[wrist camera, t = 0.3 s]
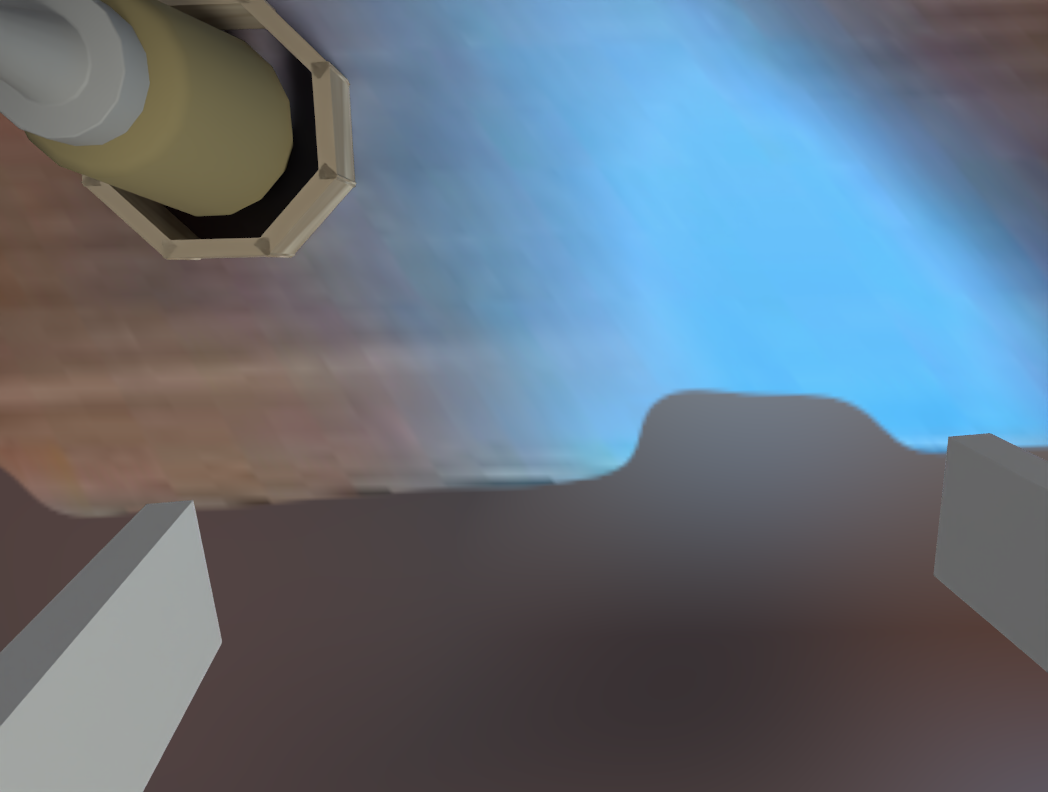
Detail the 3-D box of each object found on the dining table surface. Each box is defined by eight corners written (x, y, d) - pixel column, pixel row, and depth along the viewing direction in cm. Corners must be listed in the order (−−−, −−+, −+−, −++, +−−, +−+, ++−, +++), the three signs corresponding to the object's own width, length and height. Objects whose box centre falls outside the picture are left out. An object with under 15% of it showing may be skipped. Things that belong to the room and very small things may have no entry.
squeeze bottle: (308, 233, 38) (106, 205, 20) (149, 208, 37) (-197, 158, 20) (324, 64, 36) (123, -127, 18) (159, 38, 36) (-204, -179, 18)
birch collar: (102, 14, 36) (57, -13, 32) (345, 6, 36) (325, -22, 32) (131, 261, 38) (91, 261, 34) (360, 255, 38) (343, 254, 34)
